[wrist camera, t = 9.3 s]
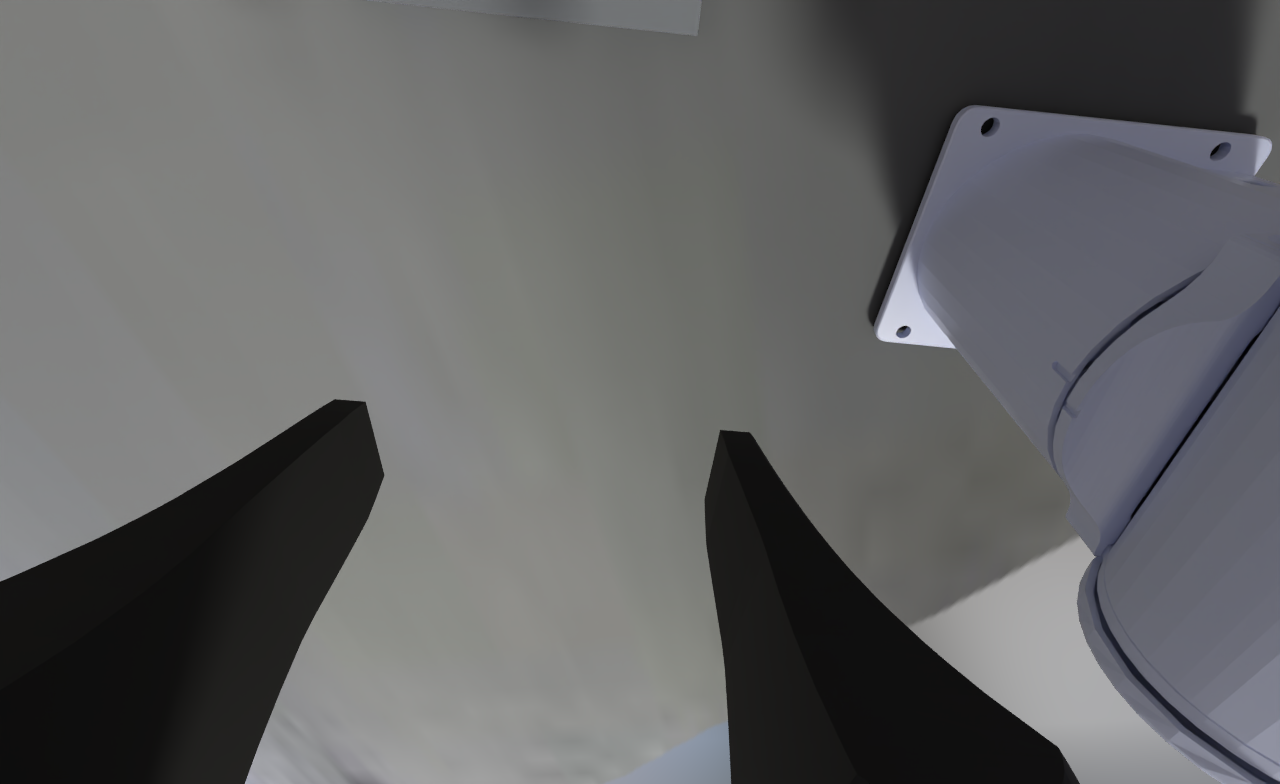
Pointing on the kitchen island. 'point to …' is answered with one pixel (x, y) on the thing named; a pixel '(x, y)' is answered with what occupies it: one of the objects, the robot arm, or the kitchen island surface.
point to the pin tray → (587, 12)
